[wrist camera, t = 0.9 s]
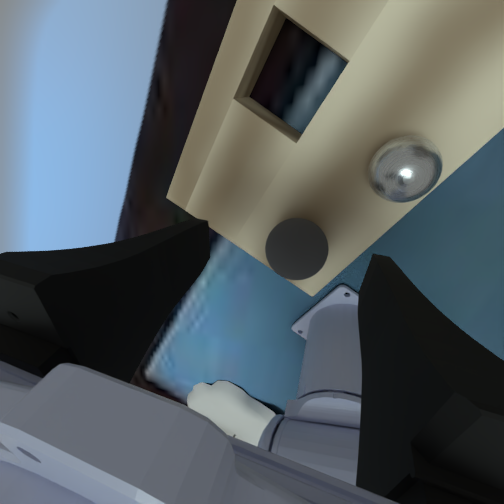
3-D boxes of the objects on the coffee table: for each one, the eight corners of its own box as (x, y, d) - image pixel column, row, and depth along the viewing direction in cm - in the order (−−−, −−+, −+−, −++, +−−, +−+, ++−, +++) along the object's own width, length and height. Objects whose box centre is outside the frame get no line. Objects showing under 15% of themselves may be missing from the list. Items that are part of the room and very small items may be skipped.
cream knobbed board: (665, -58, 10) (762, -103, 8) (316, 275, 23) (312, 296, 21) (379, -294, 10) (388, -422, 7) (185, 185, 23) (166, 197, 20)
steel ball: (448, 153, 13) (471, 170, 11) (398, 201, 15) (407, 225, 13) (398, 117, 13) (410, 125, 11) (354, 169, 15) (354, 187, 13)
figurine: (329, 449, 37) (301, 637, 24) (259, 463, 48) (215, 596, 35) (223, 357, 37) (137, 496, 24) (178, 392, 48) (103, 500, 35)
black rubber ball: (343, 231, 17) (341, 264, 14) (307, 267, 20) (298, 303, 16) (294, 196, 17) (280, 222, 14) (263, 237, 19) (246, 268, 16)
